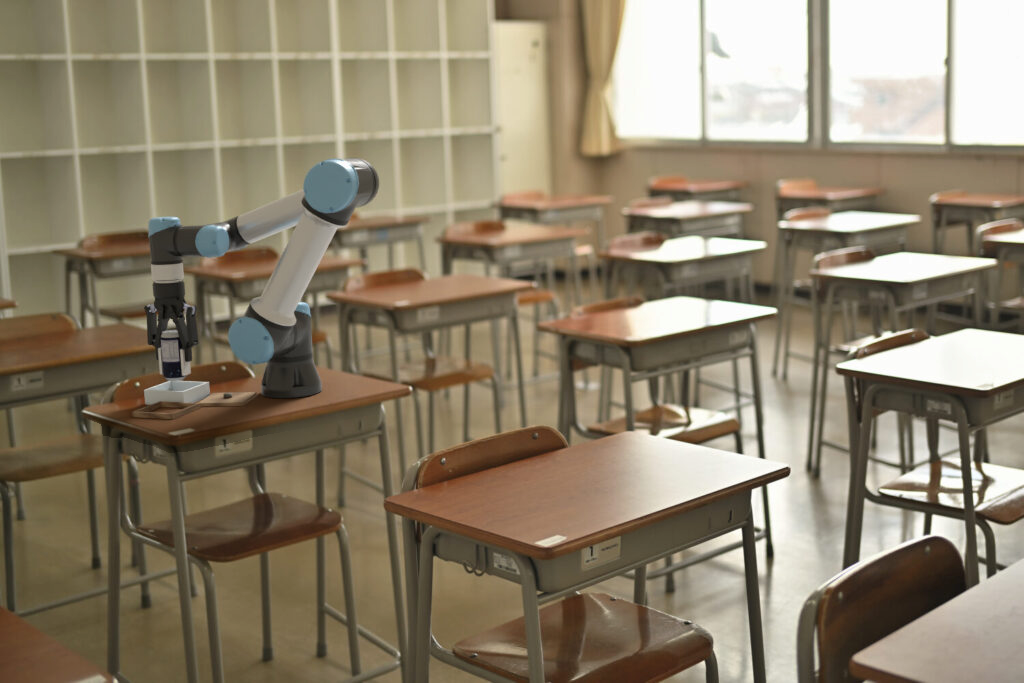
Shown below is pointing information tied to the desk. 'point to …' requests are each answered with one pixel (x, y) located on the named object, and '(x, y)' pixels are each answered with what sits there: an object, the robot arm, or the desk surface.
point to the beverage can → (171, 355)
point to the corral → (146, 414)
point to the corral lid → (228, 399)
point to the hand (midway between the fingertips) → (175, 373)
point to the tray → (177, 392)
